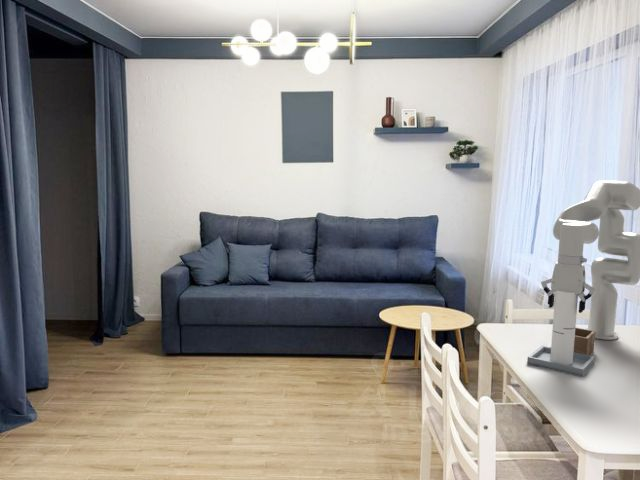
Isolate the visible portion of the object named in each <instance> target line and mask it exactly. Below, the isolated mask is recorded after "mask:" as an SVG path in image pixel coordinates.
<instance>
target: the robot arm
mask: <svg viewBox="0 0 640 480" xmlns="http://www.w3.org/2000/svg"><path fill="white" fill-rule="evenodd" d="M639 208H640V188H639V187H637V186H636V185H635V184H633V183H632V182H629V181H622V180H599V181H596V182H594V183H593V184H592V186H591V187H590V189H589V190H588V192H587V194H586V196H585V197H584V199H583V201H580V202H578V203H576V204H574V205H571V206H569V207H568V208H566V209H564V210H563V211H562V212H561V213H560V214H559V216H558V217H557V219H556V221H555V223H554V225H553V227H552V234H553V236H554V238H555V240H557V241H559V242H558V253H557V261H556V262H555V265H554V267H553V272H552V277H551V278H550V279H549V278H548V279H545V280H543V281H541V282H540V284H541V286H542V288H543V292H544V293H545V294H546V295H547V298H548V299H547V305H548V308H550V309H551V308H554V303H555V292H556V290H557V291H564V292H571V293H574V294H575V295H578V299H580V301H579V302H578V313H580V314H581V313H583V311H585V309H586V301H587V300H588V299H590V303H589V305H590V306H589V312H588V313H589V315H588V323H587V324H588V325H587V326H588V327H587V328H585V329H586V330H592V331H595V339H598V340H603V341H604V340H606V341H611V340H612V341H613V340H617V339H618V338H619V334H618V333H617V332H615V328H616V327H615V326H616V315H617V306H618V298H619V295H618V291H617V289H616V287H615V285H614V284H618V285H625V286H636V285H637V284H639V281H640V234H639V233H637V232H631V231H625V230H624V227H625V216H624V215H623V213H622V212H621V210H622V211H637V210H638V209H639ZM596 220H599V227H598V226H597V224H596V223H594V222H593V221H596ZM597 239H598V240H597ZM596 240H597V249H598V251H599V252H600V253H601V254H604V255H605V254H606V255H609V256H617V257H618V256H619V257H625V258H627V260H626V259H620V258H615V257H614V258H611V257H598V258H595V259H593V260H592V262H591V265H590V275H591V285H590V284H588V283H586V267H585V264H584V263H587V261H588V258H585V257H584V254H583V253H584V244H585V245H586V244H587V245H589V244H593V243H594V242H596ZM548 284H550V287H548ZM550 288H551V289H550ZM586 289H587V290H588V293H587V294H585V291H586Z"/></svg>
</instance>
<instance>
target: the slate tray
mask: <svg viewBox="0 0 640 480" xmlns="http://www.w3.org/2000/svg"><path fill="white" fill-rule="evenodd" d="M550 357H551V347H550V346H547V345H541V346H539V348H537V349H536V350H535V351H533V352H532V353H530V354H529V355H528V356H527V362H526V365H530V366H535V367H539V368H541V369H542V368H544V369H548V370H551V371H557V372H560V373H564V374H565V373H566V374H569V375H573V376H577V377H583V378H584V376H586V374H587V373H588V372H589V370H591V368H592V367H593V366H594V365H595V362H596V356H594V355H590V356H589V355H585V354H580V353H575V352H573V363H572V364H570V365H566V364H561V363H557V362H552V361H550Z"/></svg>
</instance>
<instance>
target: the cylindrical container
mask: <svg viewBox="0 0 640 480" xmlns="http://www.w3.org/2000/svg"><path fill="white" fill-rule="evenodd" d="M578 300H579V296H578V295H575V294H574V293H571V292H564V291H557V290H556V292H555V293H554V306H553V318H552V319H553V320H552V329H551V330H552V331H551V345H550V346H551V357H550V361H552V362H557V363H561V364H566V365H570V364H572V363H573V352H574V339H575V327H576V328H577V313H578V303H579V302H578Z"/></svg>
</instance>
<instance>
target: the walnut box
mask: <svg viewBox="0 0 640 480" xmlns="http://www.w3.org/2000/svg"><path fill="white" fill-rule="evenodd" d="M586 329H587V328H581V327H577V326H576V327H575V339H574V352H575V353H580V354H585V355H589V356H592V354H593V353H594V351H595V340H596V338H595V331H592V330H586Z"/></svg>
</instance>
